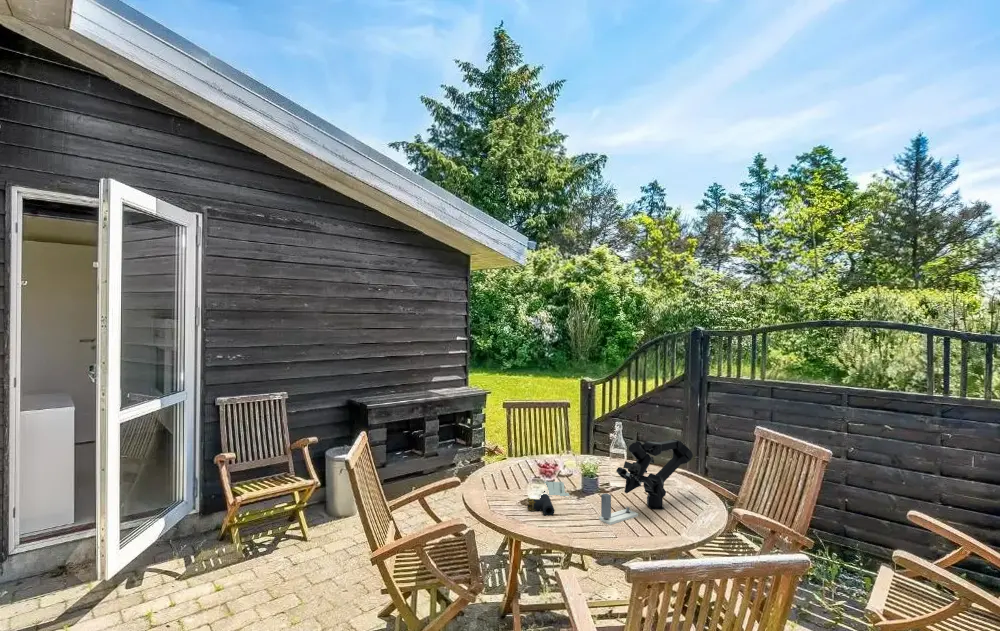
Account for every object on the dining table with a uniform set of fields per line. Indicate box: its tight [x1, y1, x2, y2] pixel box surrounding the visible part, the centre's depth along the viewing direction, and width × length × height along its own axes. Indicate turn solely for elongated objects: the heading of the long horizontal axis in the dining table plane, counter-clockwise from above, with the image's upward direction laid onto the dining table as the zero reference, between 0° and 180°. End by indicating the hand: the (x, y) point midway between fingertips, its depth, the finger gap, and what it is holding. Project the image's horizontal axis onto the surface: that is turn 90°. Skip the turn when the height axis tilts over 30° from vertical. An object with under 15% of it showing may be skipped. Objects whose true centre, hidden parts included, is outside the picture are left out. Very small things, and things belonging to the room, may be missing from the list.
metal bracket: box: [543, 479, 570, 497], centre depth 256 cm, size 14×6×15 cm
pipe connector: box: [527, 494, 555, 516], centre depth 233 cm, size 12×5×15 cm
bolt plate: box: [598, 506, 639, 526], centre depth 224 cm, size 18×7×4 cm, turn 122°
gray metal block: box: [600, 492, 612, 519], centre depth 219 cm, size 3×3×11 cm
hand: (625, 492), depth 226 cm, fingers closed
